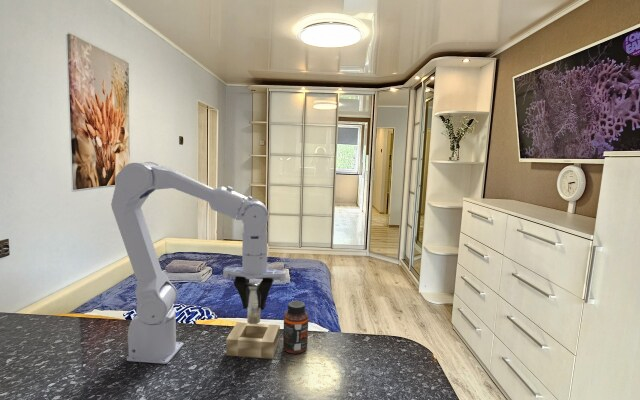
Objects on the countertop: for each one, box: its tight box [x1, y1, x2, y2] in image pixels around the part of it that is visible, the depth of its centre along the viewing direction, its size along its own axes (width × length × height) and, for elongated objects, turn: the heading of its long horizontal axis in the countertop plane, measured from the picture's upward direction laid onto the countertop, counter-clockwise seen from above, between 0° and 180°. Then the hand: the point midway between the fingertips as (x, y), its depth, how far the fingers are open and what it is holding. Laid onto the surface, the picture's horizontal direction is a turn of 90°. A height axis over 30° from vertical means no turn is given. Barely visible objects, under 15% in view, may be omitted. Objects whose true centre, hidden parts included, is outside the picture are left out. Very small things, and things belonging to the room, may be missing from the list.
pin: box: [246, 281, 261, 324], centre depth 79 cm, size 4×4×9 cm
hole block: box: [225, 322, 281, 360], centre depth 81 cm, size 11×8×4 cm
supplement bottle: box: [282, 300, 309, 355], centre depth 81 cm, size 6×6×11 cm
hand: (254, 307), depth 80 cm, fingers closed on pin, 3 cm apart
